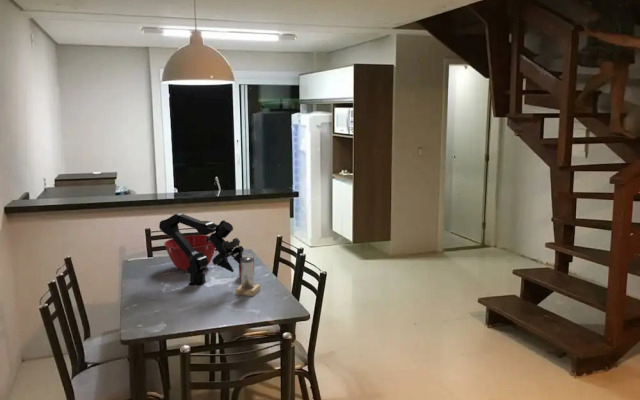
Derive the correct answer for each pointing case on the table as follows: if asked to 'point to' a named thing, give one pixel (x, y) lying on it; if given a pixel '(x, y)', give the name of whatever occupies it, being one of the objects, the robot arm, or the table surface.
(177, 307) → the table surface
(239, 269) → the canned food
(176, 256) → the mixing bowl
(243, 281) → the canister
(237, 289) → the oak board
